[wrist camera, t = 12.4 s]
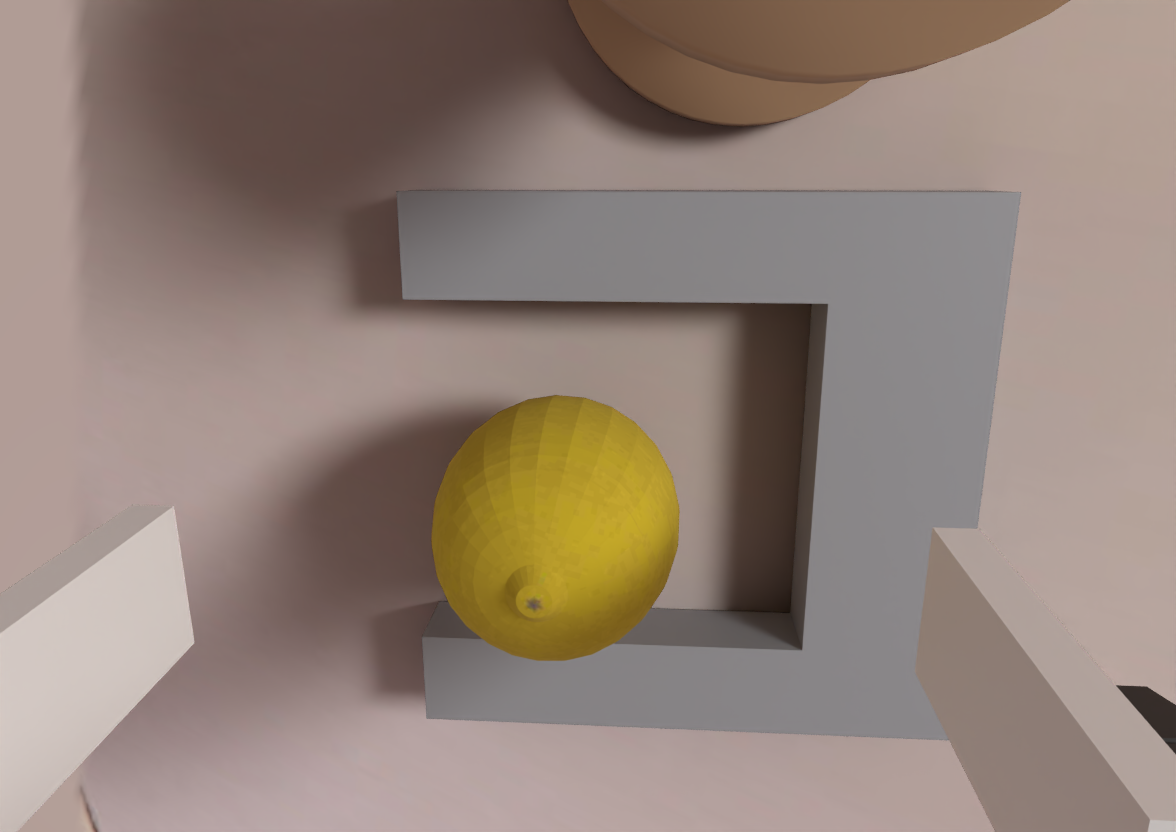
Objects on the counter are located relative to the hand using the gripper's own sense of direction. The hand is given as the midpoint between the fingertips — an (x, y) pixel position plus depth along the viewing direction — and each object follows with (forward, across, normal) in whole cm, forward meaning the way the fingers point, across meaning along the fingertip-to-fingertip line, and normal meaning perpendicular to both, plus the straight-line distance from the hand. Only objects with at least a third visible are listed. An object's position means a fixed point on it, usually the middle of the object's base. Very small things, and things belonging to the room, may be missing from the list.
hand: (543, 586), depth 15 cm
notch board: (+9, +3, -1) cm, 9 cm away
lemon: (+9, 0, -1) cm, 9 cm away
